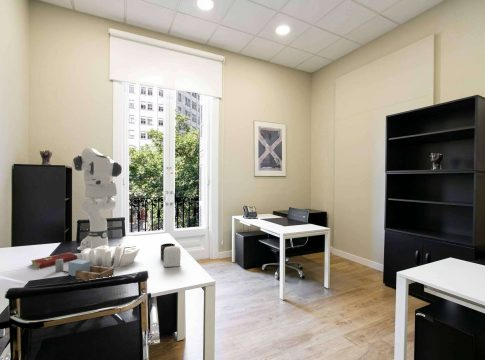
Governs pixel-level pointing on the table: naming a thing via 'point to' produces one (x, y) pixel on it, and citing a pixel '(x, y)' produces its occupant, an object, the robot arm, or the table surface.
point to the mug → (164, 248)
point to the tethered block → (73, 266)
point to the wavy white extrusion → (110, 255)
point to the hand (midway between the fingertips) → (101, 204)
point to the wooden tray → (95, 273)
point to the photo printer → (172, 256)
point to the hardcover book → (53, 260)
